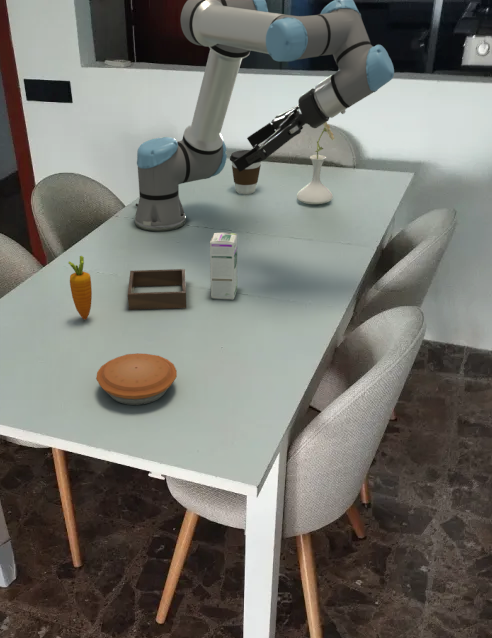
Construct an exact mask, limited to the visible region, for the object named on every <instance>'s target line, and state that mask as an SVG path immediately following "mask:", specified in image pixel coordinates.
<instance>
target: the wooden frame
mask: <svg viewBox="0 0 492 638" xmlns="http://www.w3.org/2000/svg"><path fill="white" fill-rule="evenodd" d="M186 283H187V282H186V269H185V268H170V269H145V270H144V269H141V270H139V269H138V270H129V279H128V287H127V305H128V311H132V310H133V311H136V310H137V311H138V310H140V311H141V310H164V309H166V310H167V309H168V310H169V309H171V310H172V309H187V284H186ZM171 286H172V287H173V286H181V288H182V289H181V290H182V291H181V290H180V291H152V292H150V291H149V292H135V288H137V287H138V288H139V287H140V288H141V287H171Z"/></svg>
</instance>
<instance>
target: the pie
mask: <svg viewBox="0 0 492 638" xmlns="http://www.w3.org/2000/svg"><path fill="white" fill-rule="evenodd" d="M177 373H178V372H177V369H176V367H175V364H174V363H173V362H171V361H170V360H169V359H167V358H165V357H162V356H160V355H157V354H156V355H155V354H149V353H128V354H124V355H123V354H122V355H121V356H117V357H115V358H112V359H110V360H108V361H107V362H106V363H104V364H102V365H101V366H100V368H99V369H98V371H96V376H95V377H96V378H95V379H96V382H97V384H98V385H99V386H100V387H101V388H102V389H103V391H104V392H106V394H108V395H109V396H110V398H112V399H113V400H114V401H115V402H118V403H120V404H123V405H128V406H140V405H147V404H151V403H153V402H156V401H157V400H160V398H162V397H163V396H164V395H165V394H166V392H167V391H168V389H169V388H170V387H171V386H172V385H173V383H174V382H175V380H176V378H177V377H178V376H177V375H178V374H177Z"/></svg>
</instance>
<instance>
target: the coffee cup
mask: <svg viewBox="0 0 492 638" xmlns="http://www.w3.org/2000/svg"><path fill="white" fill-rule="evenodd" d="M250 150H251V149H242V150H236V151H234V152H233V151H232V153H230V154H231V155H230V156H229V161H230V162H231V170H232V176H233V183H234V188H235V191H236V193H238V194H240V195H251V194H254V193H255V192H256V190H257V184H258V181H259V177H260V170H261V166H262V165H261V163H262V162H263V161H264V160H263V159H262V158H261V159H260V160H258V161H257V162H255V163H253V164H252V165H250V166H249V167H247V168H246V169H244V170H242V171H241V172H239V170H238V169H237V167H236V166H235V164H234V163H233V161H234V160H236V159H238V158H239V157H241V156H242V155H244V154H245V153H247V152H248V151H250Z"/></svg>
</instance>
